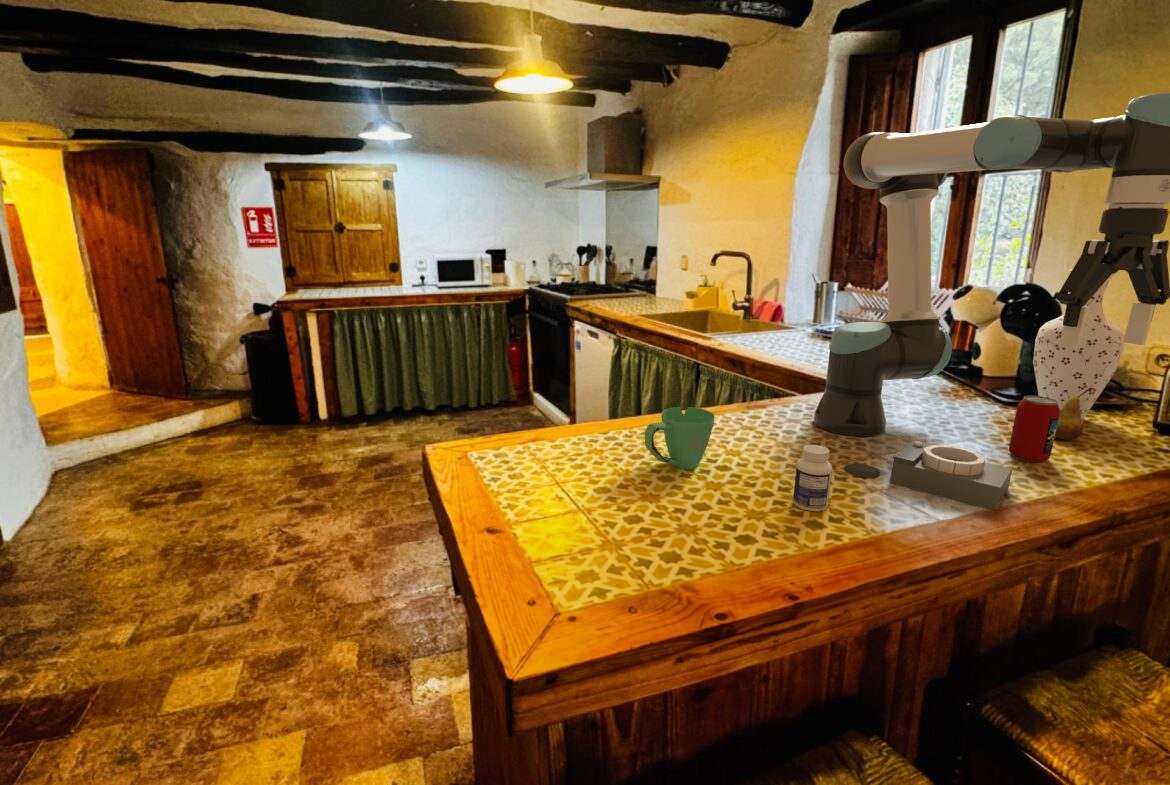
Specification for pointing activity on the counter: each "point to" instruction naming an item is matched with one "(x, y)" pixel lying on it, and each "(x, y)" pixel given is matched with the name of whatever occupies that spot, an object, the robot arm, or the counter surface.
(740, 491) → the counter surface
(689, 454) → the mug
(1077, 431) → the fruit
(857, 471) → the lens cap
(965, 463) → the camera body
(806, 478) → the pill bottle
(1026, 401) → the beverage can
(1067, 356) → the vase
